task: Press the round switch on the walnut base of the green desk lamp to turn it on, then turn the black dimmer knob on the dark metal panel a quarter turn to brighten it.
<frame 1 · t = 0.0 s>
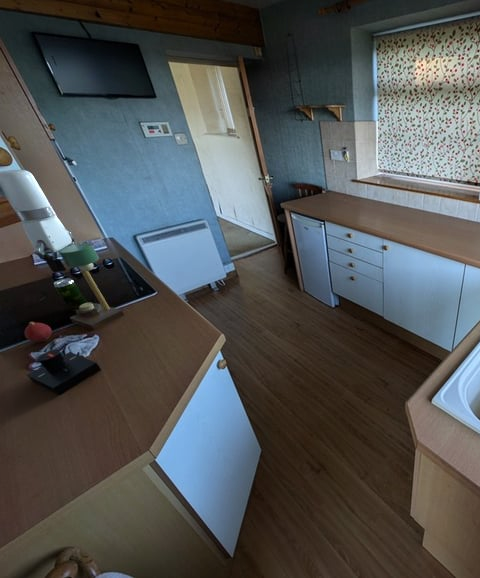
hand: (68, 264, 97), 23 cm above the worktop, tool pointing down, fingers open, 9 cm apart
onion: (45, 341, 99), on the worktop
lamp base: (99, 318, 110), on the worktop
beer can: (80, 307, 116), on the worktop
lamp switch: (87, 307, 109), point 4 cm above the worktop, slide at 0.1 cm
dimmer: (68, 375, 85), on the worktop
dimmer knob: (53, 360, 83), point 5 cm above the worktop, hinge at 0.0°
lamp: (95, 281, 101), point 16 cm above the worktop
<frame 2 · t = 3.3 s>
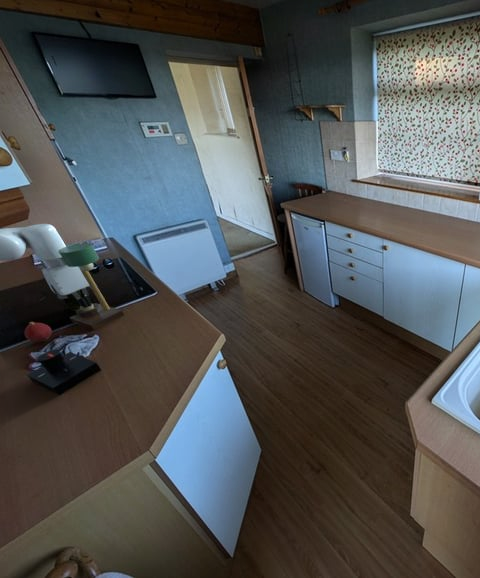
hand: (87, 305, 108), 5 cm above the worktop, tool pointing down, fingers closed
lamp switch: (87, 307, 109), point 4 cm above the worktop, slide at -0.3 cm, touching gripper
everything else where it was.
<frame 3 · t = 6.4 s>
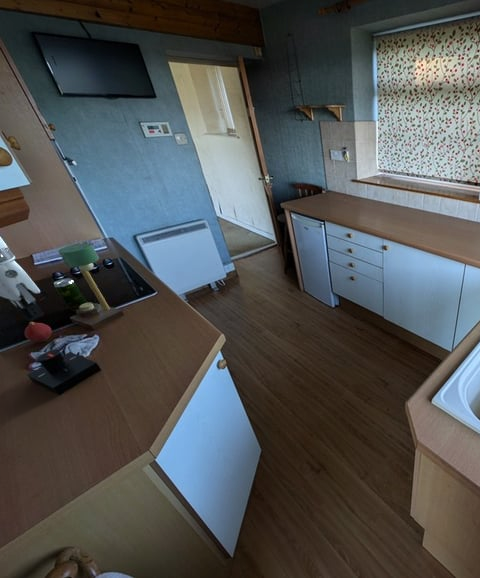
hand: (35, 317, 81), 17 cm above the worktop, tool pointing down, fingers closed
lamp switch: (87, 307, 109), point 4 cm above the worktop, slide at 0.1 cm
everything else where it was.
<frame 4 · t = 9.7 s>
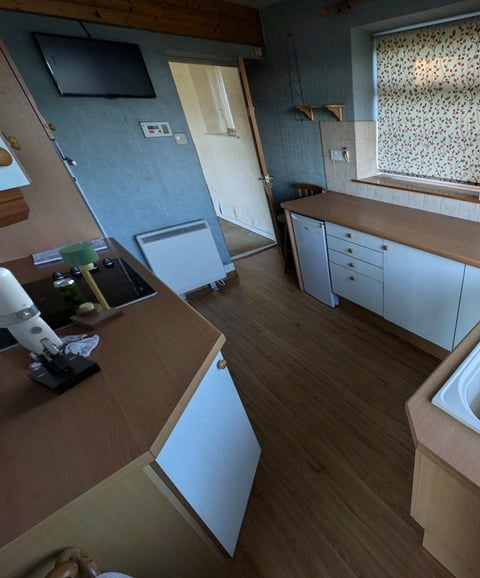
hand: (57, 365, 84), 4 cm above the worktop, tool pointing down, fingers closed on dimmer knob, 4 cm apart
dimmer knob: (53, 360, 83), point 5 cm above the worktop, hinge at -0.1°, touching gripper
everything else where it was.
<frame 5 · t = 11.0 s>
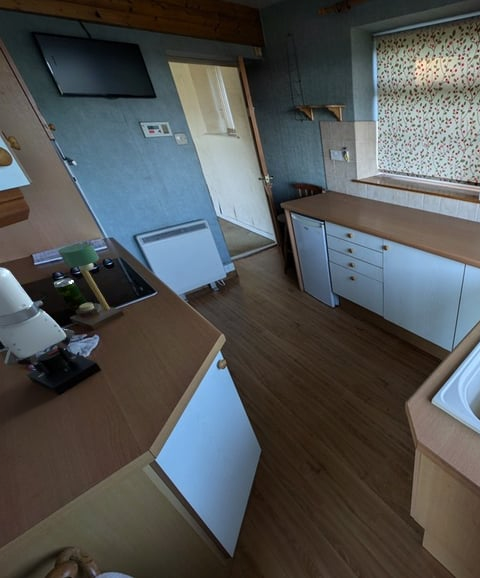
hand: (57, 365, 84), 4 cm above the worktop, tool pointing down, fingers closed on dimmer knob, 4 cm apart
dimmer knob: (53, 360, 83), point 5 cm above the worktop, hinge at 89.9°, touching gripper
everything else where it was.
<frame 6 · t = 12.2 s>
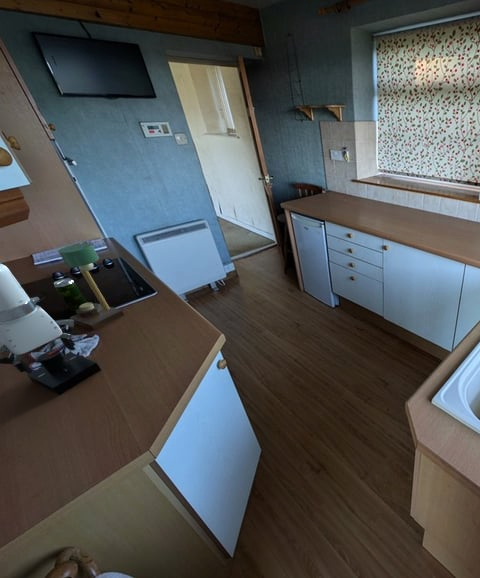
hand: (50, 359, 83), 6 cm above the worktop, tool pointing down, fingers open, 9 cm apart
dimmer knob: (53, 360, 83), point 5 cm above the worktop, hinge at 92.0°
everything else where it was.
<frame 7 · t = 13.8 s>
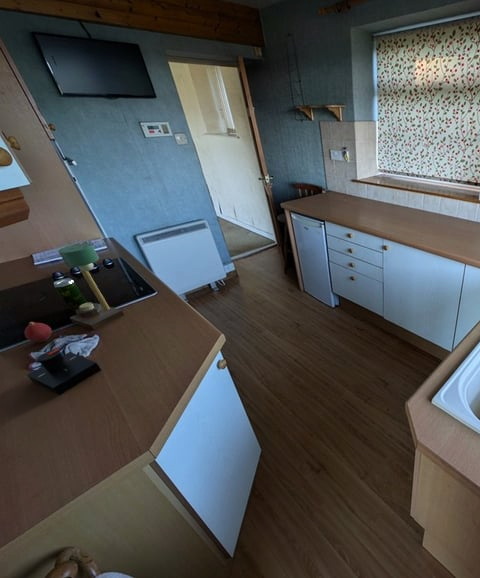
nothing on the worktop moved.
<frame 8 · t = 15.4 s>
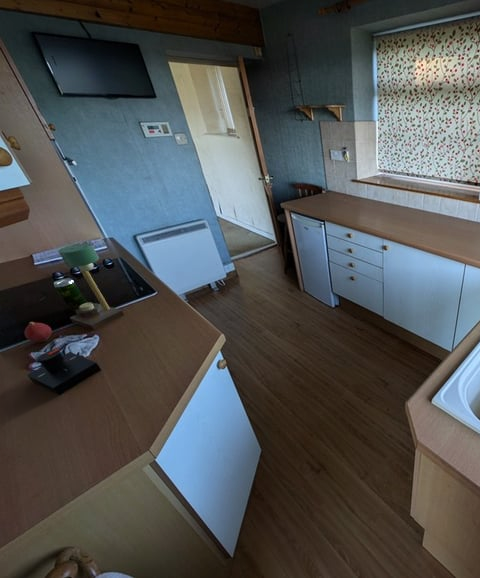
nothing on the worktop moved.
at the end: lamp switch pushed in 1.1 cm at the most during the clip, back to where it started at the end; lamp switch slide at 0.1 cm; dimmer knob at +92° (first picture: +0°) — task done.
